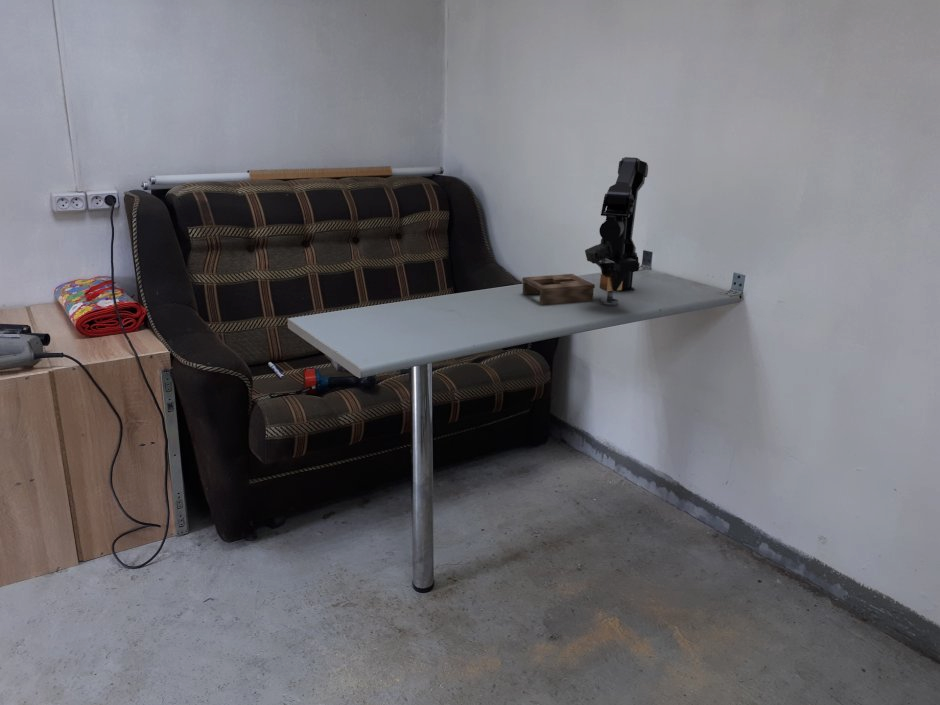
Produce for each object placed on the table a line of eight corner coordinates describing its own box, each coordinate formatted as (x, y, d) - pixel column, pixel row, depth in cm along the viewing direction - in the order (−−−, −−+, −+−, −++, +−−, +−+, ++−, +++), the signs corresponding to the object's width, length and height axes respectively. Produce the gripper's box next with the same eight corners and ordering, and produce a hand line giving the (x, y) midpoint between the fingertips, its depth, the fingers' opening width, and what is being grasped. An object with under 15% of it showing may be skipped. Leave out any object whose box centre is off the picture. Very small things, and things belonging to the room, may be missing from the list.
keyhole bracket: (571, 289, 225) (572, 273, 223) (593, 301, 212) (594, 284, 211) (521, 293, 219) (522, 277, 217) (541, 305, 207) (542, 288, 205)
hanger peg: (612, 300, 213) (614, 272, 210) (621, 305, 208) (624, 276, 206) (597, 302, 211) (599, 274, 208) (606, 306, 207) (608, 278, 204)
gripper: (574, 230, 209) (570, 283, 214) (607, 242, 192) (602, 299, 197) (607, 229, 212) (603, 280, 218) (643, 240, 196) (637, 296, 201)
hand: (610, 288), depth 208 cm, fingers closed on hanger peg, 4 cm apart
